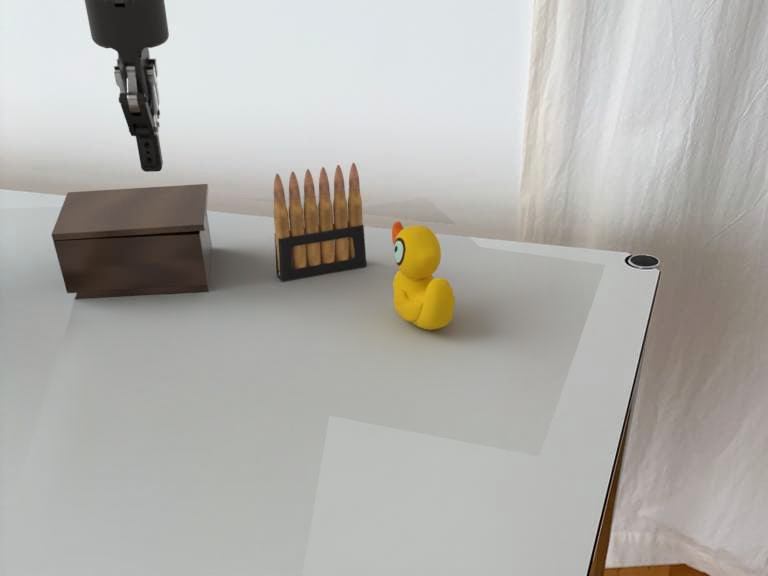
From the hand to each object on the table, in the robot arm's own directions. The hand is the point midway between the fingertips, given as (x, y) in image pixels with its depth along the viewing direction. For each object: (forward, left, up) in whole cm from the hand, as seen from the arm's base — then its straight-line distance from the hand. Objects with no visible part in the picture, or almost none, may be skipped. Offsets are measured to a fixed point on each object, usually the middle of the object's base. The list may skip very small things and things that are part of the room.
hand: (152, 168), depth 99 cm
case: (-3, 0, -12) cm, 12 cm away
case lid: (-3, 0, -5) cm, 6 cm away
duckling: (+28, -15, -12) cm, 34 cm away
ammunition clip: (+18, -2, -12) cm, 22 cm away
